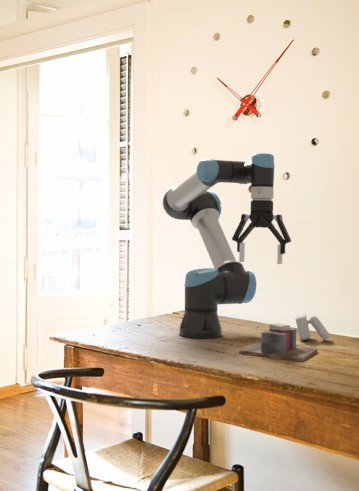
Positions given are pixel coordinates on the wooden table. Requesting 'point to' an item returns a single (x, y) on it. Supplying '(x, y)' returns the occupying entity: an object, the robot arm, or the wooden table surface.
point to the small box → (281, 331)
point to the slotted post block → (279, 347)
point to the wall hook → (304, 329)
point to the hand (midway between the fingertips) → (260, 263)
